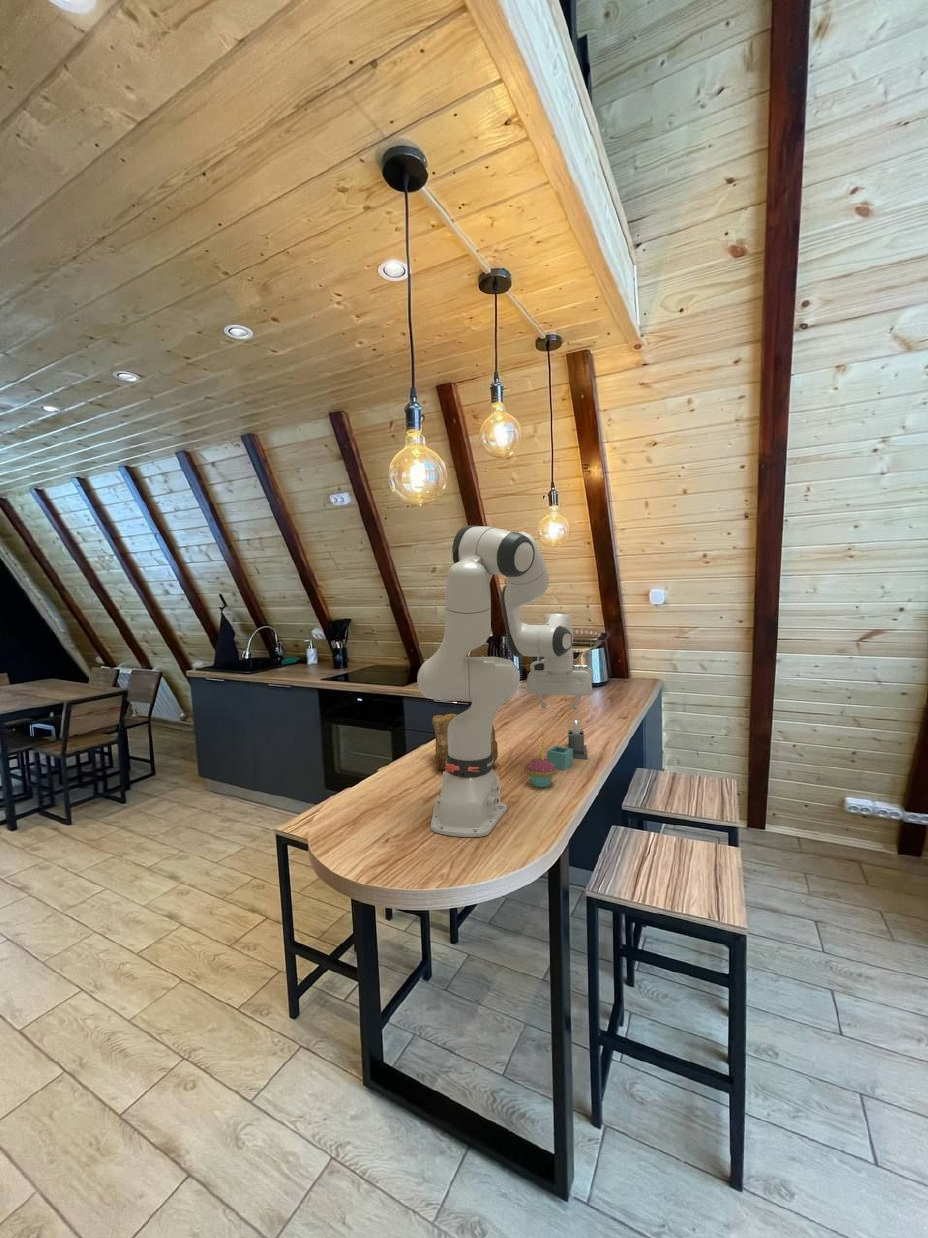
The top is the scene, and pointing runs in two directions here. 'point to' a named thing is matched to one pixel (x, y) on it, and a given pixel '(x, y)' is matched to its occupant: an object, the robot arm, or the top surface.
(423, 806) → the top surface
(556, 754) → the teal hollow box
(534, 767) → the cupcake
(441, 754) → the rough brown rock
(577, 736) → the grey pedestal stand
